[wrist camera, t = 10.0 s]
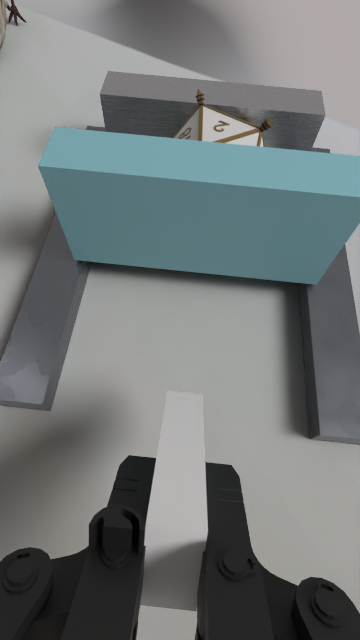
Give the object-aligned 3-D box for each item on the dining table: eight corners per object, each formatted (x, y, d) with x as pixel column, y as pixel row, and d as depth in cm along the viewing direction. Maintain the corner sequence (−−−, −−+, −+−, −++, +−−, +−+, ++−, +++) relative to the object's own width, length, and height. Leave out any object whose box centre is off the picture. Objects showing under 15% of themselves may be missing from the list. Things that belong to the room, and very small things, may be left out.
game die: (186, 233, 31) (154, 108, 27) (283, 214, 29) (266, 72, 24) (161, 272, 24) (111, 108, 19) (288, 250, 21) (267, 55, 16)
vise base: (-1, 405, 20) (-63, 370, 14) (90, 142, 31) (75, 68, 26) (362, 445, 19) (436, 424, 14) (322, 164, 31) (355, 94, 25)
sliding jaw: (74, 259, 23) (38, 165, 16) (84, 225, 24) (55, 126, 18) (316, 284, 22) (376, 198, 16) (312, 248, 24) (366, 156, 17)
